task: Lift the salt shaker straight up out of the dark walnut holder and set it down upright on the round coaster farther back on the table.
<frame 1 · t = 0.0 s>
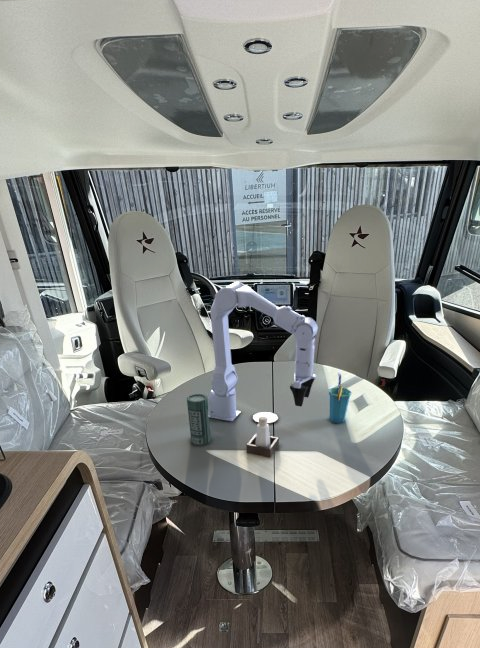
hand: (302, 401, 146), 10 cm above the table, tool pointing down, fingers open, 7 cm apart
holder: (262, 449, 140), on the table
can: (201, 441, 145), on the table
salt shaker: (262, 449, 140), resting in holder
coaster: (265, 418, 158), on the table
cup: (336, 419, 158), on the table
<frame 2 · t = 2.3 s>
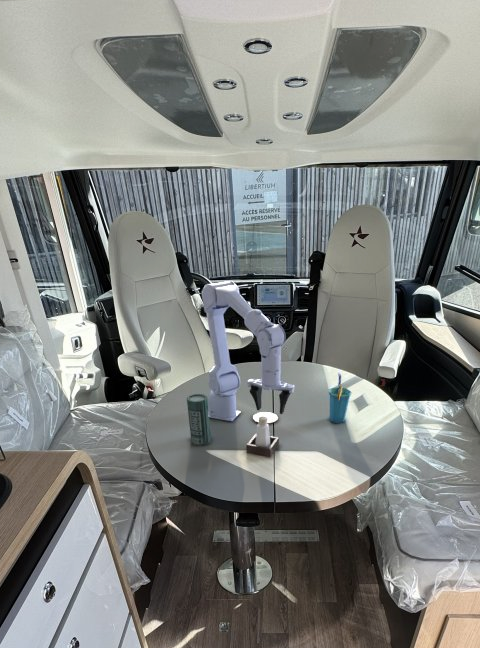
hand: (270, 411, 139), 10 cm above the table, tool pointing down, fingers open, 7 cm apart
nothing on the table moved.
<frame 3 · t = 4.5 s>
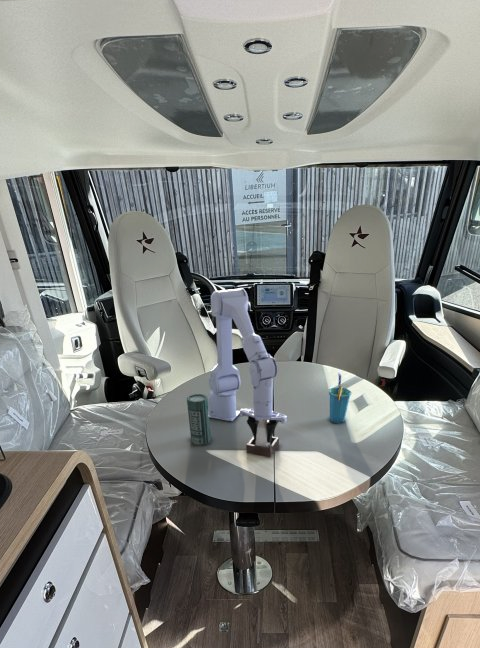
hand: (262, 439, 138), 3 cm above the table, tool pointing down, fingers closed on salt shaker, 4 cm apart
salt shaker: (262, 449, 140), resting in holder, touching gripper
everything else where it was.
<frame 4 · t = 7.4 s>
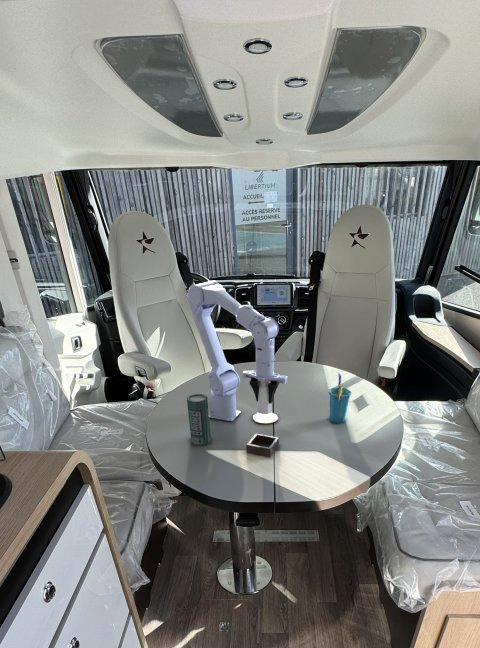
hand: (264, 401, 145), 10 cm above the table, tool pointing down, fingers closed on salt shaker, 4 cm apart
salt shaker: (264, 411, 147), point 7 cm above the table, touching gripper
everything else where it was.
when the fingers open (4 cm above the table, at t = 10.5 s): salt shaker stays where it is, resting on coaster.
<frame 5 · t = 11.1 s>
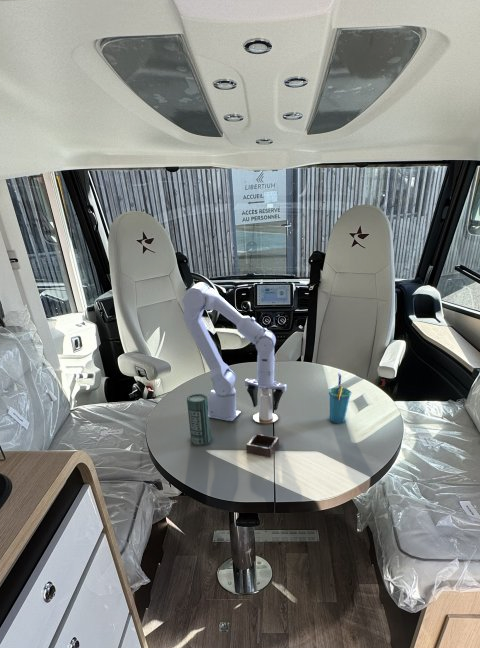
hand: (265, 407, 156), 4 cm above the table, tool pointing down, fingers open, 7 cm apart
salt shaker: (265, 417, 158), resting on coaster
everything else where it was.
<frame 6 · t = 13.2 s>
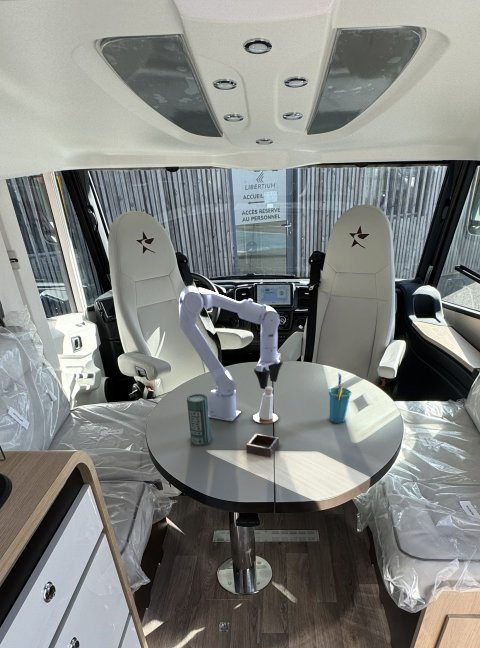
hand: (268, 384, 156), 10 cm above the table, tool pointing down, fingers open, 7 cm apart
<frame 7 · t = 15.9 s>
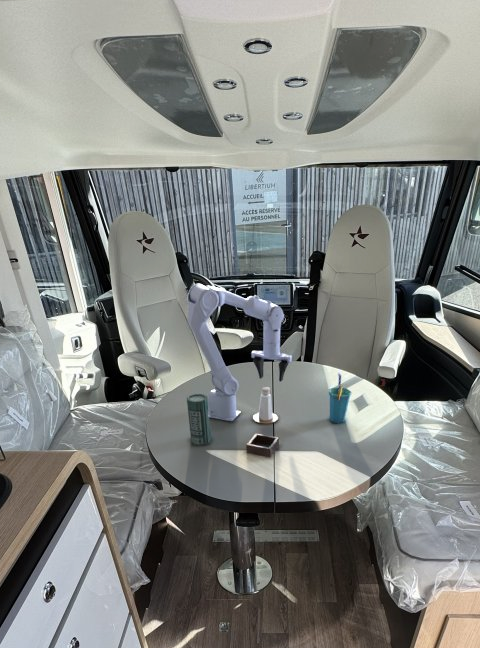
hand: (271, 379, 161), 10 cm above the table, tool pointing down, fingers open, 7 cm apart
at the end: salt shaker 0.0 cm off-centre on the coaster, point 0.2 cm above the coaster's base; salt shaker tilted 0°; salt shaker touching coaster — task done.
